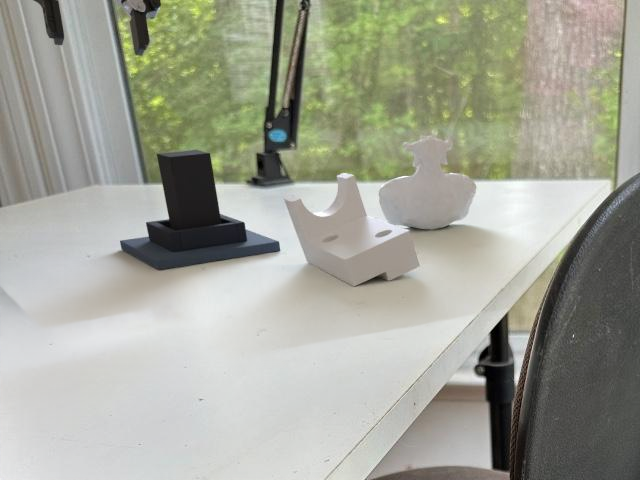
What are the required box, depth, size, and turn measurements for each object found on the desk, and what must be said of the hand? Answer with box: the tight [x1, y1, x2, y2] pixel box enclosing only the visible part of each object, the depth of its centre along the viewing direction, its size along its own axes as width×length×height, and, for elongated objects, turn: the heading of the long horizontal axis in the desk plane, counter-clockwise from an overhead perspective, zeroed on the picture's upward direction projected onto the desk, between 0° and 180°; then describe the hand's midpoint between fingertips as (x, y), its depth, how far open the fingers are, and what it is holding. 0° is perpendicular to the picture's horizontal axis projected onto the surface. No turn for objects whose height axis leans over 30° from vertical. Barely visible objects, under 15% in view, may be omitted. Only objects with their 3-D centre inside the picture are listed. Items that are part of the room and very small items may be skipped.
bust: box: [378, 133, 478, 231], centre depth 106 cm, size 12×8×11 cm
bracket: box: [283, 172, 421, 287], centre depth 90 cm, size 13×7×8 cm, turn 28°
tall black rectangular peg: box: [156, 149, 222, 231], centre depth 100 cm, size 4×4×9 cm
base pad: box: [119, 213, 281, 271], centre depth 102 cm, size 14×14×3 cm
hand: (100, 47), depth 98 cm, fingers open, 8 cm apart
